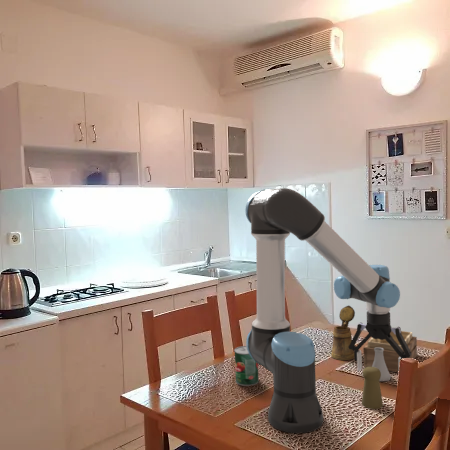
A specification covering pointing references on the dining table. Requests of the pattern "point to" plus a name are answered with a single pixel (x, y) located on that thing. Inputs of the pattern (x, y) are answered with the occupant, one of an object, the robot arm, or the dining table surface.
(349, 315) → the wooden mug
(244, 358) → the canned tomato
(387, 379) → the flask
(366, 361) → the wooden drawer box
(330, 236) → the robot arm
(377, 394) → the cork
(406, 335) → the pine crate
